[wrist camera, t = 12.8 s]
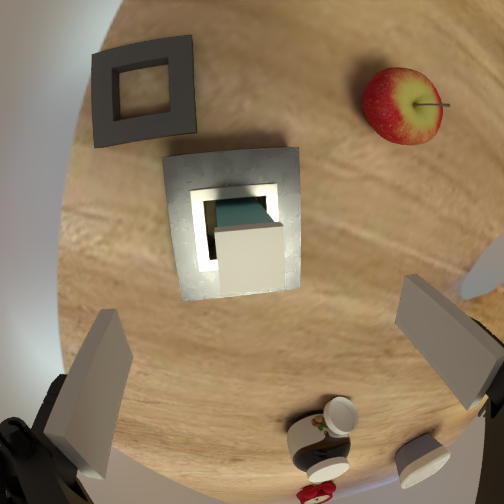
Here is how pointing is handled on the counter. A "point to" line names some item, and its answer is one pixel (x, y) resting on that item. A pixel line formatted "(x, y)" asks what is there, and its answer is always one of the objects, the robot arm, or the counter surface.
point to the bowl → (420, 460)
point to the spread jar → (323, 440)
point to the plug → (248, 247)
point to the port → (225, 187)
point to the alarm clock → (317, 493)
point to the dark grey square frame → (132, 58)
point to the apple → (403, 106)
